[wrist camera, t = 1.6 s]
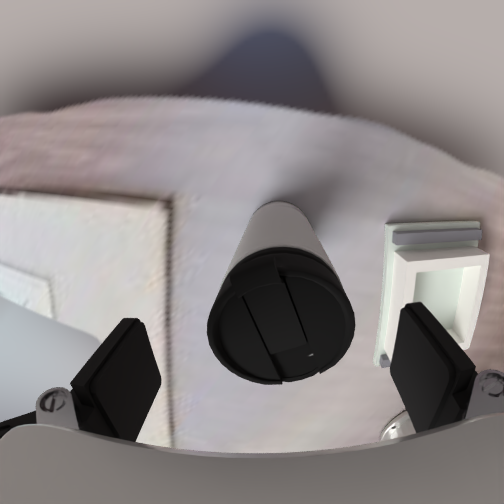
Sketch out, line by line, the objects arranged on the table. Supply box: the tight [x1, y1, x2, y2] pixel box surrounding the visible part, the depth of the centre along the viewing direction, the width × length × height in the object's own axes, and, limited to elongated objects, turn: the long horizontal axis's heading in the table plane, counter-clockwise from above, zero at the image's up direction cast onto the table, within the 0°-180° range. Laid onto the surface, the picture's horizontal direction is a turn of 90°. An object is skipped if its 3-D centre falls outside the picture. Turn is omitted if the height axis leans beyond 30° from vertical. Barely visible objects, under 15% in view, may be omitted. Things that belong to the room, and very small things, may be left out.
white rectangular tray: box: [373, 221, 490, 368], centre depth 29 cm, size 18×13×4 cm
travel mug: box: [207, 201, 355, 385], centre depth 21 cm, size 6×7×20 cm
